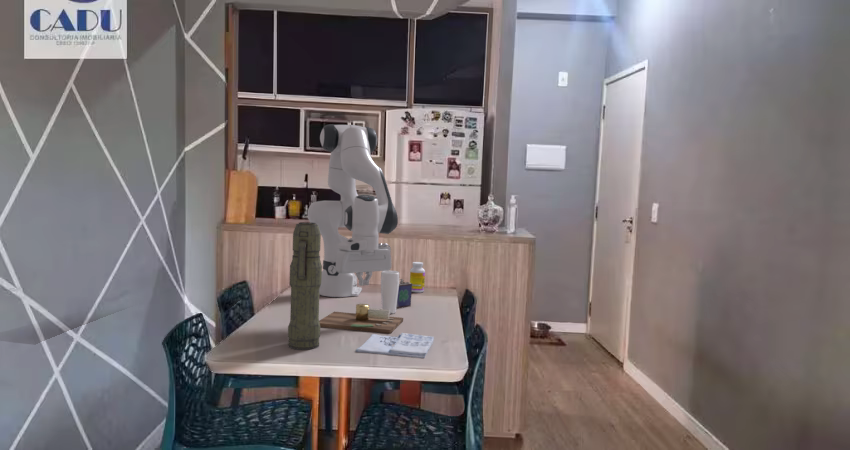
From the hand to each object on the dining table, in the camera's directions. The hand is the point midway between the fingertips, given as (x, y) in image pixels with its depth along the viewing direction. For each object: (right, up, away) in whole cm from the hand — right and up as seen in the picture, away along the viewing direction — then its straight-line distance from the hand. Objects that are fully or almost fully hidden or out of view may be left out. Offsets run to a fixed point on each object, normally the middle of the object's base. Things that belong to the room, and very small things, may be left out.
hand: (363, 285), depth 188 cm
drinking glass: (+7, -12, +18) cm, 23 cm away
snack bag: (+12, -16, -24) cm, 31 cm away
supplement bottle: (+17, -10, +61) cm, 64 cm away
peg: (+3, -12, 0) cm, 12 cm away
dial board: (-1, -13, 0) cm, 13 cm away
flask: (+11, -12, +28) cm, 33 cm away
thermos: (-14, -14, -28) cm, 34 cm away
